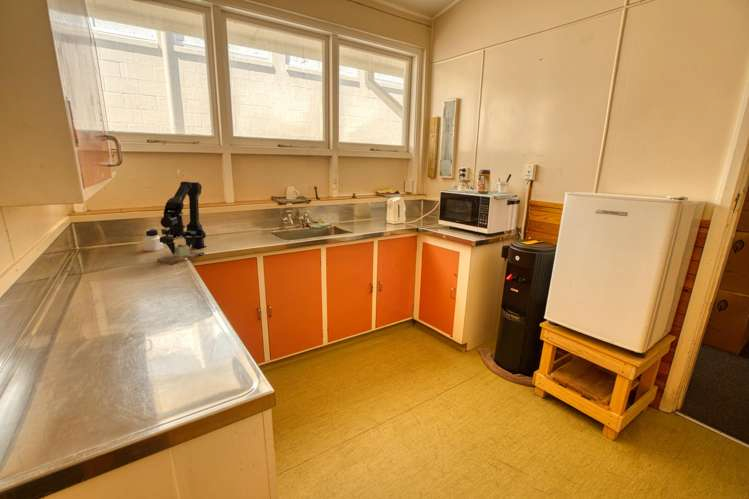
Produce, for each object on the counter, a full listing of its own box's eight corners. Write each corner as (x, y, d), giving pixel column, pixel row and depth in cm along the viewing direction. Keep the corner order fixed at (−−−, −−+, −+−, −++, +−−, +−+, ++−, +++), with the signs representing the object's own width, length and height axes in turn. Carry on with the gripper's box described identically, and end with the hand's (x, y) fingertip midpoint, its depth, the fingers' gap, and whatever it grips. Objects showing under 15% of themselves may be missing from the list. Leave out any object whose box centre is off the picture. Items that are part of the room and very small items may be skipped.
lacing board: (189, 251, 204) (187, 239, 202) (204, 254, 199) (203, 241, 197) (157, 261, 186) (155, 247, 184) (173, 264, 182) (171, 250, 180)
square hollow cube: (182, 253, 196) (181, 244, 195) (190, 254, 194) (188, 245, 193) (172, 255, 191) (171, 247, 189) (180, 257, 189) (179, 248, 187)
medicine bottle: (164, 247, 211) (161, 228, 208) (155, 251, 204) (152, 231, 201) (153, 247, 212) (149, 228, 208) (144, 250, 205) (141, 230, 201)
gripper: (181, 219, 199) (185, 245, 203) (150, 225, 182) (154, 254, 186) (195, 221, 195) (199, 248, 199) (165, 227, 178) (169, 256, 182)
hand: (180, 251), depth 192 cm, fingers open, 9 cm apart
